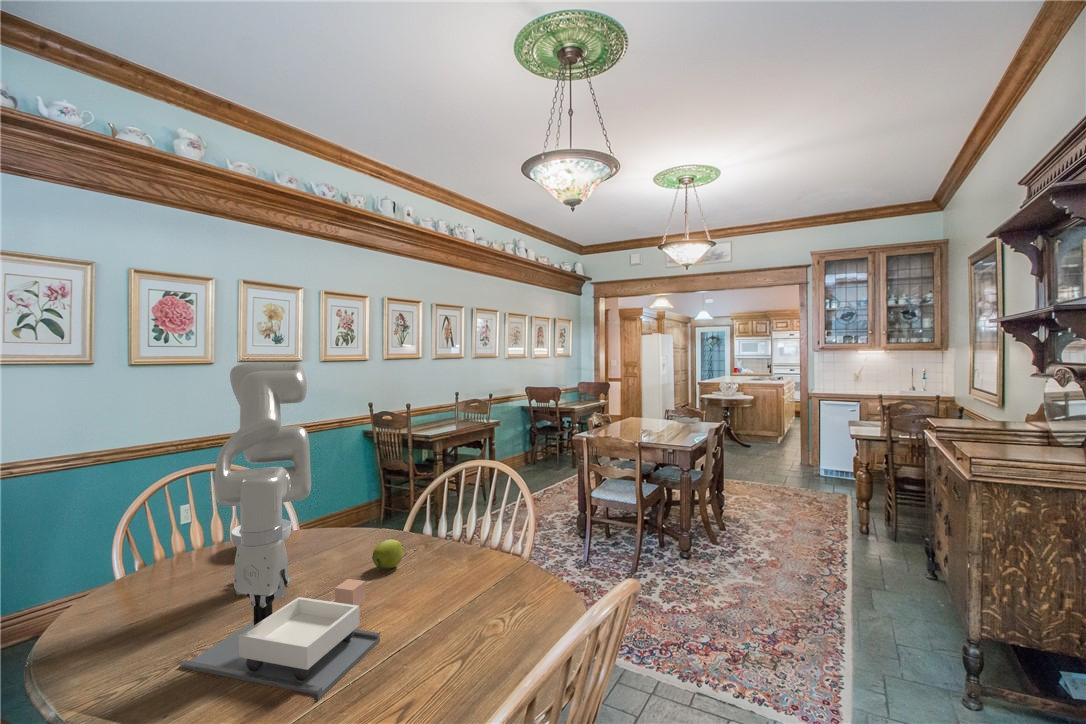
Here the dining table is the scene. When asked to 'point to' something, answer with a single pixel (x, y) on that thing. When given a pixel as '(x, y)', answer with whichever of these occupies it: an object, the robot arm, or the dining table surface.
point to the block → (351, 592)
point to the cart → (299, 634)
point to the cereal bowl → (237, 536)
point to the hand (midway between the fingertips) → (263, 622)
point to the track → (319, 682)
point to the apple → (388, 554)
